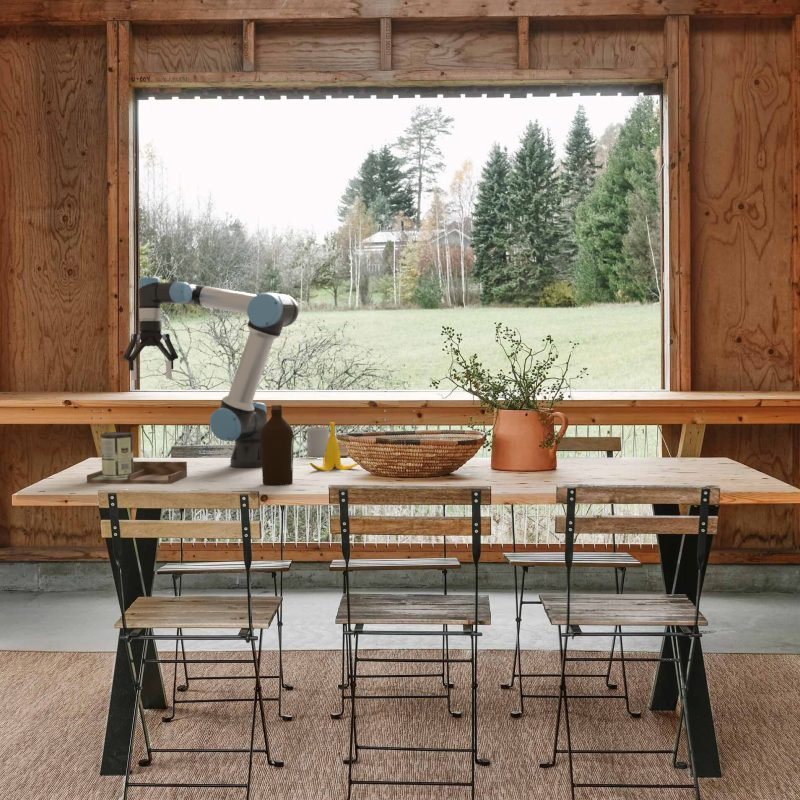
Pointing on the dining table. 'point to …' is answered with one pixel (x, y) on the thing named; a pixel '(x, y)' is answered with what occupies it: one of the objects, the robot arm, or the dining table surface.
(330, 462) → the banana peel
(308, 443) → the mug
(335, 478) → the dining table surface
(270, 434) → the olive oil
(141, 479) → the tray
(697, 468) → the dining table surface
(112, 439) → the coffee can
